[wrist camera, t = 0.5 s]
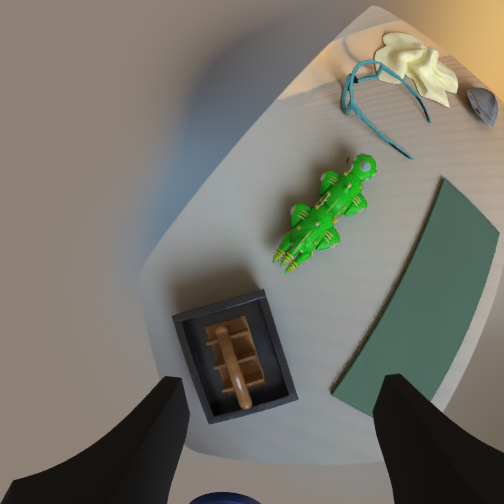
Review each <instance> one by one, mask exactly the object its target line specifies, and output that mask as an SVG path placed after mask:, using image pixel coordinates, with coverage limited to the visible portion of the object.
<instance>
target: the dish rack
mask: <svg viewBox="0 0 504 504" xmlns="http://www.w3.org/2000/svg"><path fill="white" fill-rule="evenodd" d="M205 328H206V332H207V335H208V338H209V340H208V341H207V342H206V345H211V347H212V350H213V354H214V357H215V360H216V364H215V366H214V369H215V370H216V369H219V372H220V374H221V377H222V380H223V383H224V384H223V388H222V392H223V393H224V392H227V394H228V395H229V394H233V393H236V396H237V399H238V402H239V405H240V407H241V408H242V409H249V408H250V407H251V406H252V401H251V398H250V395H249V389H251V388H254V387H258V386H261V385H264V384H267V382H266V379H265V376H264V373H263V370H262V367H261V364H260V360H259V357H258V354H257V351H256V348H255V345H254V342H253V339H252V335H251V332H250V329H249V326H248V323H247V320H246V316H241V317H238V318H235V319H231V320H228V321H224V322H221V323H218V324H214V325H211V326H207V327H205Z"/></svg>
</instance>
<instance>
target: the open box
mask: <svg viewBox="0 0 504 504" xmlns="http://www.w3.org/2000/svg"><path fill="white" fill-rule="evenodd" d="M241 316H246V320H247V323H248V326H249V329H250V332H251V335H252V339H253V342H254V345H255V348H256V351H257V354H258V357H259V360H260V364H261V367H262V370H263V373H264V376H265V379H266V382H267V384H264V385H261V386H258V387H254V388H251V389H249V395H250V398H251V401H252V406H251V407H250V408H249V409H242V408H241V407H240V405H239V402H238V399H237V396H236V393H233V394H229V395H228V394H227V392H224V393H223V392H222V388H223V384H224V383H223V380H222V377H221V374H220V372H219V369H216V370H215V369H214V366H215V364H216V360H215V357H214V354H213V350H212V347H211V345H206V342H207V341H208V340H209V338H208V335H207V332H206V328H205V327H207V326H211V325H214V324H218V323H221V322H224V321H228V320H231V319H235V318H238V317H241ZM172 318H173V321H174V323H175V328H176V331H177V334H178V338H179V341H180V344H181V347H182V350H183V353H184V356H185V359H186V362H187V365H188V368H189V371H190V374H191V377H192V380H193V383H194V386H195V388H196V391H197V394H198V397H199V399H200V402H201V405H202V407H203V410H204V413H205V415H206V417H207V421H208V423H209V424H213V423H217V422H222V421H226V420H230V419H234V418H238V417H242V416H246V415H249V414H253V413H257V412H260V411H264V410H267V409H270V408H274V407H277V406H280V405H283V404H287V403H290V402H293V401H296V400H298V396H297V393H296V390H295V387H294V384H293V381H292V377H291V374H290V371H289V368H288V365H287V361H286V358H285V355H284V352H283V349H282V345H281V342H280V339H279V336H278V333H277V330H276V326H275V323H274V320H273V317H272V314H271V310H270V307H269V304H268V301H267V298H266V294H265V291H264V289H262V290H259V291H255V292H252V293H249V294H246V295H242V296H239V297H236V298H232V299H229V300H226V301H222V302H219V303H215V304H212V305H209V306H205V307H202V308H198V309H195V310H191V311H188V312H184V313H181V314H177V315H173V316H172Z"/></svg>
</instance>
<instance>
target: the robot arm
mask: <svg viewBox="0 0 504 504" xmlns="http://www.w3.org/2000/svg"><path fill="white" fill-rule="evenodd" d="M372 413H373V419H374V425H375V430H376V435H377V438H378V441H379V445H380V448H381V451H382V454H383V457H384V460H385V464H386V467H387V470H388V473H389V477H390V480H391V484H392V488H393V496H394V503H395V504H504V453H503V452H501V451H499V450H497V449H495V448H493V447H491V446H489V445H487V444H485V443H484V442H482V441H480V440H478V439H477V438H475V437H474V436H472V435H471V434H469V433H467V432H466V431H465V430H463V429H462V428H461V427H459V426H458V425H457V424H455V423H454V422H453V421H452V420H450V419H449V418H448V417H447V416H446V415H444V414H443V413H442V412H441V411H440V410H439V409H438V408H436V407H435V406H434V405H433V404H432V403H431V402H430V401H429V400H428V399H427V398H426V397H425V396H423V395H422V394H421V393H420V392H419V391H418V390H417V389H416V388H415V387H414V386H413V385H412V384H411V383H410V382H409V381H408V380H407V379H406V378H405V377H404V376H403V375H401V374H400V373H398V374H391V375H385V378H384V381H383V383H382V386H381V389H380V392H379V395H378V398H377V400H376V403H375V406H374V408H373V411H372ZM189 417H190V412H189V408H188V404H187V400H186V396H185V391H184V387H183V383H182V378H179V377H169V376H165V377H163V378H162V379H161V381H160V382H159V383H158V384H157V385H156V386H155V387H154V388H153V389H152V391H151V392H150V393H149V394H148V395H147V396H146V397H145V398H144V399H143V400H142V401H141V402H140V403H139V404H138V405H137V407H135V408H134V410H133V411H132V412H131V413H130V414H129V415H128V416H127V417H125V418H124V419H123V420H122V421H121V422H120V423H119V424H118V425H117V426H116V427H114V428H113V429H112V430H111V431H110V432H108V433H107V434H106V435H105V436H104V437H102V438H101V439H100V440H99V441H97V442H96V443H94V444H93V445H91V446H90V447H88V448H87V449H85V450H84V451H82V452H80V453H79V454H77V455H76V456H74V457H72V458H70V459H69V460H67V461H65V462H63V463H61V464H58V465H56V466H54V467H52V468H50V469H48V470H45V471H43V472H40V473H37V474H34V475H31V476H28V477H24V478H21V479H17V480H14V481H13V482H12V483H11V485H10V487H9V489H8V491H7V492H6V494H5V496H4V498H3V500H2V502H1V504H167V500H168V495H169V491H170V487H171V483H172V480H173V477H174V474H175V470H176V467H177V464H178V461H179V458H180V455H181V451H182V448H183V445H184V442H185V439H186V434H187V429H188V423H189Z"/></svg>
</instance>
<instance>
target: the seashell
mask: <svg viewBox="0 0 504 504" xmlns="http://www.w3.org/2000/svg"><path fill="white" fill-rule="evenodd" d="M467 96H468V99H469V101H470V103H471V105H472V107H473V108H474V110H475V111H476V113H477V114H478V115H479V116H480V117H481V119H482V120H483V121H484V122H485V123H486V124H487V125H489V126H492V127H493V125H494V123H495V120H496V118H497V114H498V104H497V101H496V98H495V96H494V94H493V93H492V92H491V91H489V90H487V89H483V88H473V89H468V90H467Z"/></svg>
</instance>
